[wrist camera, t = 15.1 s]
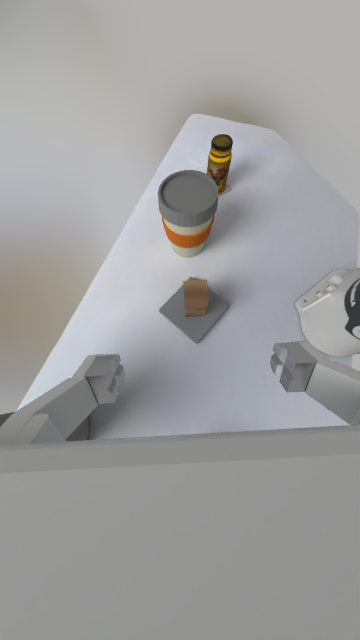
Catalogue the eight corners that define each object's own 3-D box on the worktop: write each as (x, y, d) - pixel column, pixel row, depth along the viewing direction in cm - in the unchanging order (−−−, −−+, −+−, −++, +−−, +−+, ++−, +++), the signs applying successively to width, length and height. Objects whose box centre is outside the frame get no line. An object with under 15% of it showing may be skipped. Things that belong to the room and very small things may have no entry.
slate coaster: (190, 279, 46) (191, 276, 44) (227, 307, 43) (229, 305, 42) (159, 312, 44) (158, 310, 42) (196, 343, 41) (196, 342, 39)
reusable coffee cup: (217, 236, 50) (230, 181, 35) (196, 270, 47) (200, 225, 32) (179, 220, 52) (177, 162, 38) (157, 251, 49) (144, 201, 35)
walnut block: (184, 299, 43) (183, 281, 34) (202, 298, 43) (206, 279, 34) (185, 317, 41) (184, 302, 33) (204, 315, 41) (208, 300, 33)
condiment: (212, 199, 54) (219, 152, 42) (197, 183, 56) (199, 134, 45) (231, 189, 55) (243, 141, 43) (215, 174, 57) (222, 123, 45)
